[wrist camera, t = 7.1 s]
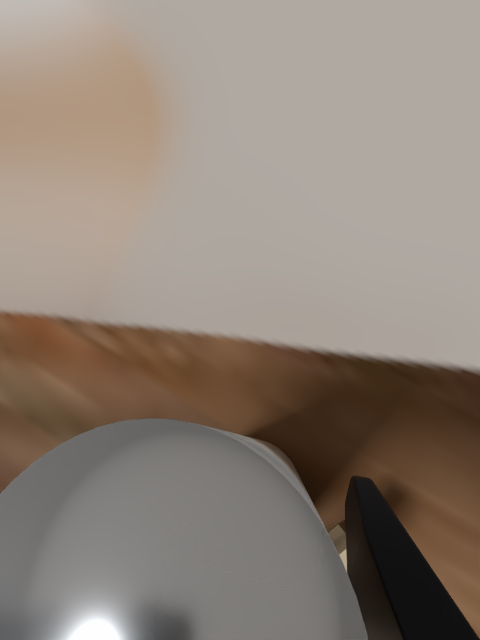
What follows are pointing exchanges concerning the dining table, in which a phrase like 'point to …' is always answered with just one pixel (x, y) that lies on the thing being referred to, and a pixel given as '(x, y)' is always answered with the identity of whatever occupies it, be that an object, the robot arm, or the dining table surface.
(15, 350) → the dining table surface
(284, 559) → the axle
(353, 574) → the robot arm
